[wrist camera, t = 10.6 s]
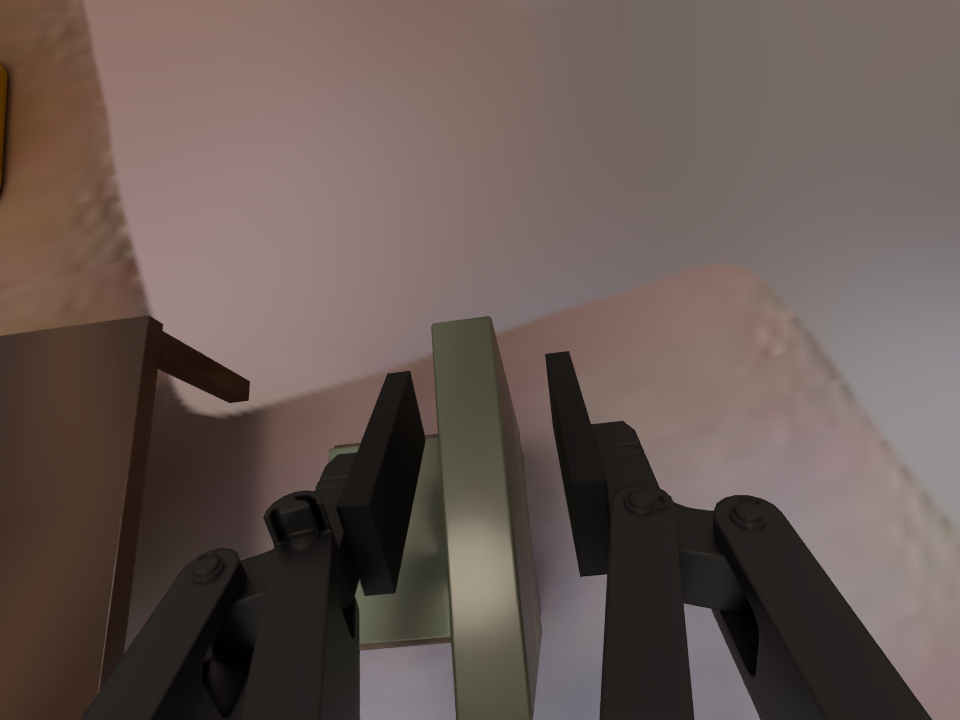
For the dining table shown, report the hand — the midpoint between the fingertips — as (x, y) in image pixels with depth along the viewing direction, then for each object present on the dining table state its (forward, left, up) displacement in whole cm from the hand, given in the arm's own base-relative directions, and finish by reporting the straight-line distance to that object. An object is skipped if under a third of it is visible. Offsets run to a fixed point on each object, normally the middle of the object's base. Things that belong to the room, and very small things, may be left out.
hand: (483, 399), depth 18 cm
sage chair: (-3, -4, -11) cm, 13 cm away
